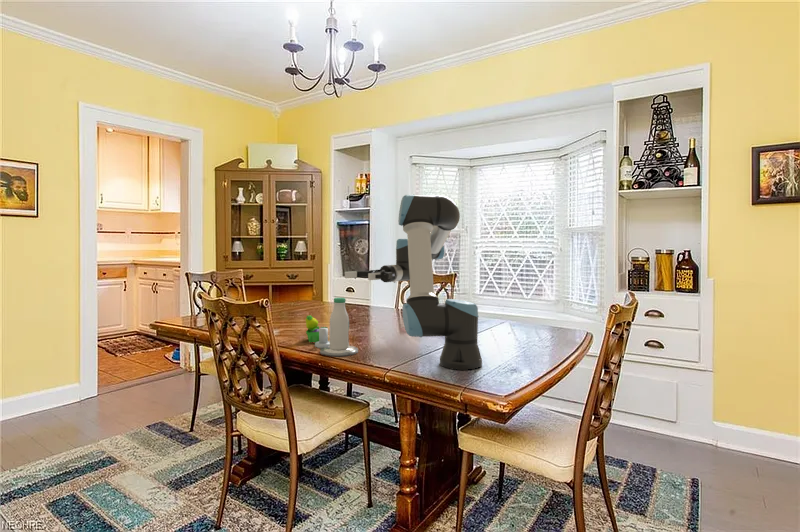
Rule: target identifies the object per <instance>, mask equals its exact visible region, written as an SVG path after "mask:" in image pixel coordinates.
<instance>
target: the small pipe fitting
mask: <svg viewBox="0 0 800 532" xmlns="http://www.w3.org/2000/svg"><path fill="white" fill-rule="evenodd" d="M328 339H329V329H328V328H319V341H318V342H315V343H314V347H315V348H316V347H317V348H316V349H321V348H323V347H327V346H330V345H329V341H330V340H328Z"/></svg>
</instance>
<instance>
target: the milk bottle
mask: <svg viewBox="0 0 800 532" xmlns="http://www.w3.org/2000/svg"><path fill="white" fill-rule="evenodd" d="M333 304H334V305H333V306H334V307H333V309H332V311H331V313H330V317H329V340H328V341H329V345H330V349H333V350H344V349H348V348H349V345H350V318H349V313H348V312H347V309H346V298H345V297H335V298H333Z"/></svg>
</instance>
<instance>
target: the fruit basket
mask: <svg viewBox="0 0 800 532" xmlns="http://www.w3.org/2000/svg"><path fill="white" fill-rule="evenodd" d="M318 324H319V320H318V319H317V318H315V317H313V316H312V315H307V316H306V318H305V326H306V328H307V330H306V331H305V333H306V336H307V339H308V342H318V341H319V328H328V327H327V326H319V325H318Z"/></svg>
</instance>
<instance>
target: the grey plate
mask: <svg viewBox="0 0 800 532" xmlns="http://www.w3.org/2000/svg"><path fill="white" fill-rule="evenodd" d="M319 352H320V354H321V355H322V356H325V357H331V358H332V357H333V358H334V357H335V358H337V357H338V358H339V357H340V358H342V357H350V355H351V356H354V354H355V355H356V353H357V354H358V353H359V348H358V347H357V346H354V345H350V344H349V348H348V349H344V350H333V349H330V346H327V347H323V348H319Z"/></svg>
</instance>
